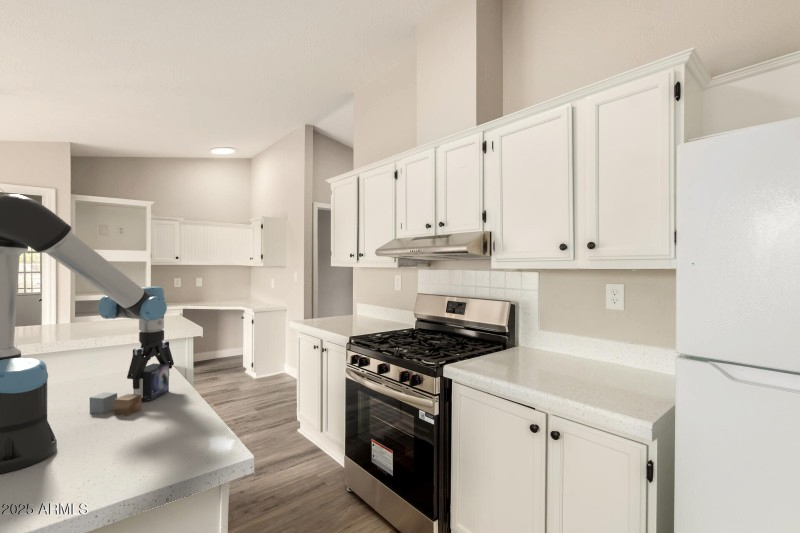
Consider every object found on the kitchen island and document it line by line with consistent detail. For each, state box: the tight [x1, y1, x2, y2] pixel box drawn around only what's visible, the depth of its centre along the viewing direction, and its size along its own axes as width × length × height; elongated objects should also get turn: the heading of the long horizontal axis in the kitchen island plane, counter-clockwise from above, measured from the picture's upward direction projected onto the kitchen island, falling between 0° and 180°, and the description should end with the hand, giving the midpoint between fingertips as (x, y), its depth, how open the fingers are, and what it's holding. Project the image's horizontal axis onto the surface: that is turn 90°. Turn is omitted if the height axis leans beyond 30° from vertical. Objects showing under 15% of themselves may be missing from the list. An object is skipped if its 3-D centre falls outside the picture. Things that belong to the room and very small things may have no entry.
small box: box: [137, 363, 170, 402], centre depth 138 cm, size 11×6×10 cm, turn 179°
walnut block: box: [113, 393, 143, 417], centre depth 123 cm, size 5×5×5 cm
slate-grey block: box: [89, 391, 118, 415], centre depth 125 cm, size 5×5×5 cm
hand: (152, 392), depth 138 cm, fingers closed on small box, 11 cm apart
